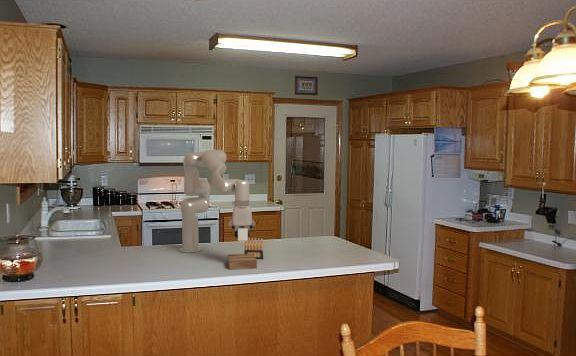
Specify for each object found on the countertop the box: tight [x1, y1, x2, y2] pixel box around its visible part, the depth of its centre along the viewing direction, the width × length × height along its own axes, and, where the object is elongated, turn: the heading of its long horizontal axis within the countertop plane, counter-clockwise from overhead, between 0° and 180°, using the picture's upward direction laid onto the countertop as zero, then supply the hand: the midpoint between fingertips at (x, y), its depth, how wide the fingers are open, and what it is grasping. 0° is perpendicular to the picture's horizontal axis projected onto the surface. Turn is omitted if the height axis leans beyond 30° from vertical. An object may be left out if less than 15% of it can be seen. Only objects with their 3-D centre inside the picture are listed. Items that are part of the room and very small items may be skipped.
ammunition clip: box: [243, 237, 264, 260], centre depth 284 cm, size 11×2×12 cm, turn 86°
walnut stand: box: [227, 253, 258, 270], centre depth 269 cm, size 16×14×4 cm
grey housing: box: [236, 226, 249, 242], centre depth 268 cm, size 5×9×7 cm, turn 10°
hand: (242, 237), depth 268 cm, fingers closed on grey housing, 5 cm apart
